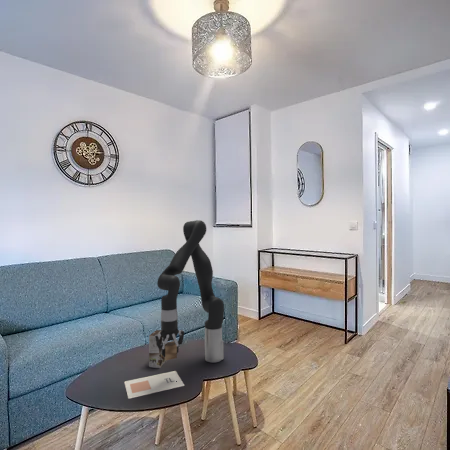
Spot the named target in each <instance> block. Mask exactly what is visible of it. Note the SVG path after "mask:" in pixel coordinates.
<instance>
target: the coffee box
mask: <svg viewBox="0 0 450 450" xmlns="http://www.w3.org/2000/svg"><path fill="white" fill-rule="evenodd" d="M160 332H161V329H155V330H154V331H153V332H152V333H151V334H149V336H148V367H149V368H155V369H161V368H162V366H163V365H164V364H166V362H167V361H168V360H166V359H165V358H164V357H163V356H162V354H161V348H160V349H159V348H158V347H157V344H156V340H155V337H154V335H155V334H156V335H158V334H160ZM162 340H163V338H162V336H160V339H159V342H160V345H161V344H162Z"/></svg>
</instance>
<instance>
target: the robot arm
mask: <svg viewBox="0 0 450 450" xmlns="http://www.w3.org/2000/svg"><path fill="white" fill-rule="evenodd" d="M182 231H183V236H184V239H185V243H184V244H183V245H182V246H181V247H180V248H179V249H178V250H177V251H176V252H175V254H174V255H173V257H172V258H171V261H170V263H169V265H168V266H167V267H165V268H164V270H163V271H162V272H161V274H159V277H158V279H157V283H156V284H157V287H158V289H160V290H162V291H167V294H166V295H165V294H164V295H163V296H162V297H161V301H160V302H161V307H160V308H161V311H160V328H161V329H160V330H161V332H160V334H158V335H156V334H155V335H154V337H155V340H156V344H157V347H158V348H159V349H160V348H161V354H162V356H163V357H165V346H166V344H167V342H172V341H174V343H175V344H176V345H177V354H178V353H179V346H180V345H182V344H183V342H184V336H185V331H184V330H183V329H180V330H179V327H178V325H179V324H178V321H179V320H178V317H179V316H178V303H177V302H178V300H177V299H178V296H179V291H180V287H181V282H180V279H179V277H178V276H177V275H180V274H182V273H183V271H184V269H185V268H186V265H187V263H188V261H189V259H190V257H191V261H192V264H193V269H194V273H195V278H196V280H197V284H198V287H199V293H200V300H201V307H202V309H203V310H204V311H205V312H206V313H208V315H207V320H205V321H204V360H205V361H206V362H208V363H211V364H212V363H214V364H215V363H219V362H221V361H222V360H224V358H225V357H224V340H223V322H224V319H225V318H224V317H225V316H224V312H225V311H224V310H225V306H224V304H225V303H224V301H223V300H222V299H221V298H220V297H216V296H215V293H214V290H213V284H212V283H213V277H214V276H213V275H214V270H213V267H212V262H211V258H209V256H208V254H206V252H205V251H204V250H203V248H202V247H201V245H200V243H201V242H202V240H203V238H204V237H205V236H206V233H207V224H206V223H205V222H204V220H200V219H199V220H198V219H196V220H192V221H186V222H185V223H184V224H183V226H182ZM178 335H179V337H178V339H177V336H178ZM160 336H162V338H163V340H162V344H161V345H160V342H159V339H160Z"/></svg>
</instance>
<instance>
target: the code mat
mask: <svg viewBox="0 0 450 450" xmlns="http://www.w3.org/2000/svg"><path fill="white" fill-rule="evenodd" d="M176 381H177V382H176ZM124 386H125V390H126V393H127V399H133V398H137V397H142V396H147V395H151V394H155V393H158V392H159V393H160V392H163V391H167V390H171V389H176V388H181V387H184V386H185V384H184V382H183V381H182V378H181V377H180V376H179V374H178V372H177V370H174V371H168V372H163V373H159V374H154V375H149V376H145V377H139V378H134V379H129V380H126V381H124Z"/></svg>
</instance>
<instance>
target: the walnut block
mask: <svg viewBox="0 0 450 450" xmlns="http://www.w3.org/2000/svg"><path fill="white" fill-rule="evenodd" d="M177 356H178V353H177V345H176V344H175V343H174V341H173V340H172V341H167V344H166V346H165V357H164V358H165V359H166V360H167V361H169V360H174V359H177V358H178V357H177Z"/></svg>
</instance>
